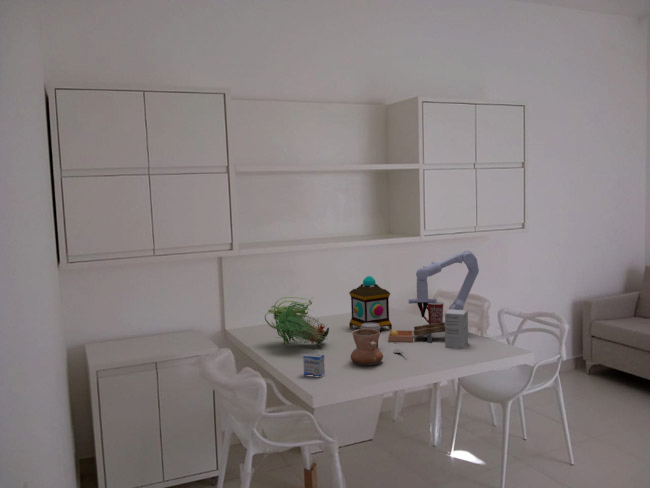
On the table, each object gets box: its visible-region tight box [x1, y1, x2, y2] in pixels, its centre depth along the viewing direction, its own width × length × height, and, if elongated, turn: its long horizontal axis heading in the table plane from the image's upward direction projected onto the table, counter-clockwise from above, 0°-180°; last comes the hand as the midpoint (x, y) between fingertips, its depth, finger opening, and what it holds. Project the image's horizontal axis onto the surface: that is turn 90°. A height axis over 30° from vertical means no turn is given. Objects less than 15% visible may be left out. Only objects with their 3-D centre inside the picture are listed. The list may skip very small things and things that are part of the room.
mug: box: [422, 301, 445, 325], centre depth 311 cm, size 13×9×14 cm
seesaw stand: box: [426, 333, 433, 344], centre depth 285 cm, size 2×13×5 cm, turn 170°
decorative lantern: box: [348, 275, 393, 331], centre depth 310 cm, size 20×20×30 cm
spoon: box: [393, 348, 410, 361], centre depth 257 cm, size 4×21×2 cm, turn 13°
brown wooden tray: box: [413, 321, 445, 337], centre depth 288 cm, size 16×16×3 cm
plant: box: [264, 296, 330, 352], centre depth 281 cm, size 30×30×35 cm
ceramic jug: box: [350, 328, 384, 366], centre depth 250 cm, size 18×14×14 cm
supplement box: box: [444, 309, 469, 350], centre depth 272 cm, size 10×9×17 cm
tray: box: [387, 329, 414, 343], centre depth 288 cm, size 12×12×3 cm
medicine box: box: [302, 353, 326, 377], centre depth 235 cm, size 8×4×9 cm, turn 69°
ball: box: [390, 329, 398, 336], centre depth 289 cm, size 4×4×4 cm
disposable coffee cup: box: [360, 323, 381, 350], centre depth 271 cm, size 10×10×12 cm
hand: (422, 316), depth 296 cm, fingers closed
